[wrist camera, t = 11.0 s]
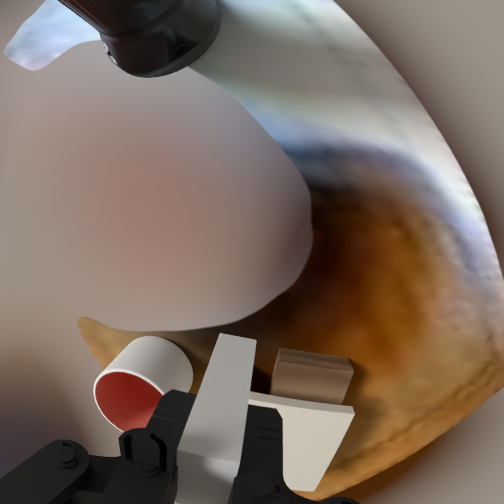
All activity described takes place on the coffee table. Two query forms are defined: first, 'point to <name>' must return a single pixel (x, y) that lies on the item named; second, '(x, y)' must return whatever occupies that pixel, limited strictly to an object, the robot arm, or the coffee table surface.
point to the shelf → (307, 436)
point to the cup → (141, 381)
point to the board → (310, 376)
